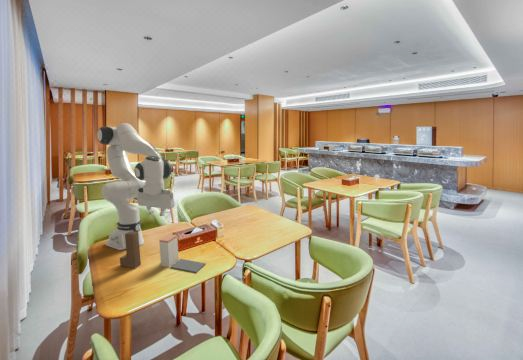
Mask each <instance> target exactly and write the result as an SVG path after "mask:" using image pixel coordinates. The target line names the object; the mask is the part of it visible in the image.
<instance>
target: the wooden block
mask: <svg viewBox="0 0 523 360" xmlns="http://www.w3.org/2000/svg"><path fill="white" fill-rule="evenodd" d="M125 241H126V249H125V251H126V254H125V255H122V256H121V257H119V264H120V267H125V268H129V269H130V268H131V269H136V268H138V267H140V266H141V265H142V262H141V249H140V246H139V235H138V232H136V231H130V232H128V233H126V234H125Z"/></svg>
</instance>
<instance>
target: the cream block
mask: <svg viewBox="0 0 523 360" xmlns="http://www.w3.org/2000/svg"><path fill="white" fill-rule="evenodd" d="M178 241H179V240H178V235H176V234H173V233H172V234H170V233H169V234H167V235H165V236H164V237H162V238H160V239H159V254H160V255H159V256H160V266H162V267H167V268H170V267H171V266H172V265H173V264H174V263H176V262H177V261H178V260H180V258H179V245H178V244H179V242H178Z"/></svg>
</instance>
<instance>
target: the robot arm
mask: <svg viewBox="0 0 523 360" xmlns="http://www.w3.org/2000/svg"><path fill="white" fill-rule="evenodd" d="M96 137H97V140H98V142H99V144H101V145H104V146H108V147H107V148H106V157H107V163H108V167H109V170H110V172H111V175H112V176H113V177H114V178H116V179H119V180H117V181H111V182H107V183H105V184H104V185H102V187H101V195H102V198H104V200H105V201H106V202H109V203H111V204H112V205H113V206H114V207H115V209H116V210H117V215H118V222H117V223H115V226H117V227H116V228H115V229H114V230H113V231H111V232H110V234H109V235H108V240H107V241H105V242H104V246H107V247H110V248H112V249H116V250H119V251H122V250H126V241H125V234H126V233H128V232H130V231H136V232H138V235H139V247H140V246H142V245H143V244H144V243H145V240H144V236H143V231H142V228H141V227H142V222H141V221H142V220H141V219H140V209H139V206H140V207H146V210H147V211H148V215H149V216H153V215H154V214H155V213H154V210H153V209H152V208H156V209H157V208H158V209H160V210H161V212H159V217H164V216H165V212H166V210H171V209H174V207H175V204H176V203H175V198H174V193H173V191H171V190H170V189H169V190H167V189H165V181H164V180H166V179H168V178H169V177H170V176H171V175H172V173H173V167H172V165H171V163H170V162H169V161H168V160H167V159H165V158H164V157H163V156H162V155H161V153H160V152H159V151H158V149H156V148H155V147H154V145H152V143H150V142H148V141H147V140H146V139H144V138H142V137H141V136H140V135H139V133H138V131H137V130H136V129H135V128H134V127H133V125H131V124H130V123H127V122H123V123H122V122H121V123H120V124H117V126H101V127H99V128H98V130H97V133H96ZM127 153H128V154H135V155H142V156H146V157H144V159H143V161H141V162H138V163H137V164H136V165H135V167H134V169H133V168H132V165H131V162H130V160H129V157H128V154H127ZM135 198H136V200H137V201H136V202H137V205H138V206H137V205H136V204H132V203H129V201H128V200H130V199H135Z"/></svg>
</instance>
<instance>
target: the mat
mask: <svg viewBox="0 0 523 360" xmlns="http://www.w3.org/2000/svg"><path fill="white" fill-rule="evenodd" d="M205 266H206V262H200V261H194V260H191V259H190V260H189V259H184V258H179V260H178V261H177V262H175V263H174V264H173V265H171V266H170V267H169V268H170V269H174V270H178V271H179V270H180V271H184V272H185V271H186V272H189V273H195V274H198V272H199V271H200V270H202V269H203V267H205Z"/></svg>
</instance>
